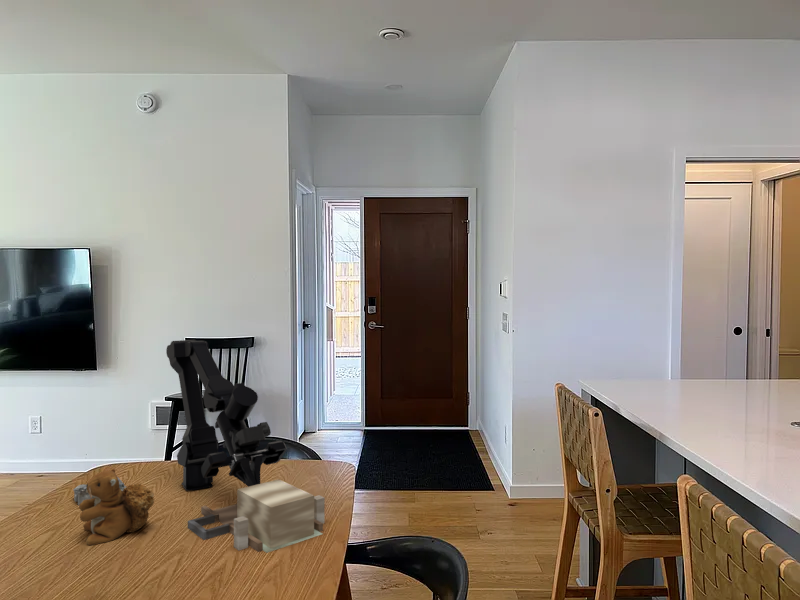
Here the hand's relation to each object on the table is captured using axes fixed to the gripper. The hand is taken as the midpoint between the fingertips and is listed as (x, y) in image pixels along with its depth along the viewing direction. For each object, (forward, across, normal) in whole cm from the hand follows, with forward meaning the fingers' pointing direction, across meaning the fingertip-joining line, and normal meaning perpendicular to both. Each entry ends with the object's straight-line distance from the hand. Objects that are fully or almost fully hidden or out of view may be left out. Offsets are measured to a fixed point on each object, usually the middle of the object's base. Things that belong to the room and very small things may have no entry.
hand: (258, 491), depth 124 cm
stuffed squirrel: (-6, -24, +16) cm, 29 cm away
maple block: (+10, 0, -1) cm, 10 cm away
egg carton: (-23, -21, +33) cm, 46 cm away
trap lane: (+5, 0, +4) cm, 7 cm away
